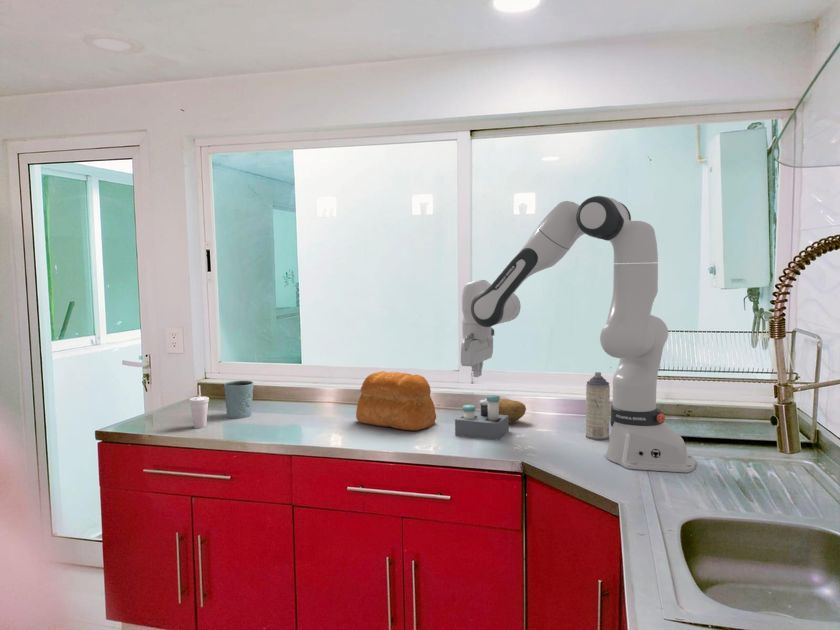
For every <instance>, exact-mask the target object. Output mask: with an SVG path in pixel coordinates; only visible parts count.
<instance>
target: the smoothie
mask: <svg viewBox="0 0 840 630" xmlns="http://www.w3.org/2000/svg"><path fill="white" fill-rule="evenodd" d="M201 395H202V393H201V385H198V396H193V397H191V398H189V400H188V403H189V404H190V405H189V406H190V410H191V415H192V421H193V426H194V428H195V429H203V428H205V427H207V420H208V411H209V407H208V406H209V402H210V398H209V397H208V396H201Z"/></svg>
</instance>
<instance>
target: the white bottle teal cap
mask: <svg viewBox="0 0 840 630" xmlns="http://www.w3.org/2000/svg"><path fill="white" fill-rule="evenodd" d="M500 397H501V396H499V395H495V394H494V395H493V394H492V395H490V394H489V395H487V396H486V399H487V401H488V420H490V421H497V420H499V401H500Z"/></svg>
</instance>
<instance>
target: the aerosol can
mask: <svg viewBox="0 0 840 630" xmlns="http://www.w3.org/2000/svg"><path fill="white" fill-rule="evenodd" d="M585 388H586V389H585V390H586V392H585V395H586V396H585V402H586V403H585V437H586V439H589V440H592V441H607V440H610V396H611V395H610V391H611V389H610V388H611V387H610V382H608V381H607V379H606V378H604V377H603V376H602V372H600V371H599V372H598V371H595V372H594V375H593V376H592V377H591V378H590V379H589V380H588V381H586V385H585Z"/></svg>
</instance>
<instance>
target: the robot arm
mask: <svg viewBox="0 0 840 630" xmlns="http://www.w3.org/2000/svg"><path fill="white" fill-rule="evenodd" d="M583 235H587V236H588V237H591V238H595V239H598V240H604V241H607V242H608V241H609V242H610V243H611V245H612V249H613V289H612V290H613V291H612V297H611V298H612V299H611V303H610V308H609V313H608V315H607V320H606V323H605V325H604V327H603V328H602V330H601V331H600V334H599V335H600V336H599V341H600V346H601V347H602V349H603V351H604V352H605V353H606V354H607V355H608V356H611V357H612V358H616V359H619V362H618V364H617V365H618V366H617V368H616V370H615V373H614V374H613V378H612V404H611V407H610V409H609V424H610V426H611V427H610V434H609V443H608V446H607V449H606V452H605V457H606V459H607V460H609V461H610V462H613V463H615V464H619V465H621V466H622V467H623V468H625V469H628V470H642V471H658V472H672V473H690V472H693V471H694V470H695V468H696V466H697V464H696V459H695V457H693V455H691V454H689V453H687V451H688V450H687V446H686V443H685V441H684V439H683V438H682V436H681V435H680V434H678V433H677V432H676V431H674V430H673V429H672V428H671V427H669V426H668V425H667V424H666V423H665V421H666V416H665V413H664V410H663V409H659V408H657V383H658V381H657V380H658V375H659V370H660V366H661V360H662V356H663V350H664V347H665V344H666V342H667V340H668V338H669V329H668V326H667V324H666V323H665V321H663V320H662V319H661V318H660V317H658V316H655V315H652V314H651V312H652V309H653V305H654V302H655V299H656V297H657V295H658V290H659V289H658V286H659V285H658V283H659V280H658V279H659V277H658V276H659V271H658V270H659V263H658V262H659V253H658V243H657V236H656V233H655V229H654V227H653V226H652V224H650V223H648V222H645V221H642V220H632V216H631V213H630V210H629V209H628V208H627V206H626V205H625V204H623V203H622V202H619V201H618V200H617V199H614V198H611V197H609V196H608V197H607V196H603V195H602V196H601V195H595V196H591V197H589V198H587V199H585V200H584V201H583V202H581V203H580V205H579V204H578V203H576V202H573V201H569V200H564V201H560V202H559V203H558V204H556V206H555V207H554V208H553V209H552V210H551V211H550V212H548V214H546V216H545V217H544V218H543V220H542V221H540V224H538V226H537V228H536V229H535V230H534V232H533V233H531V235H530V237H529V238H528V239H527V241H526V243H524V245H523V246H522V248H521V249H520V250H519V251H518V252H517V254H516V255H515V256H514V258H512V260H511V261H510V262H509V263H508V265H506V267H505V268H504V269H503V270H502V271H501V272H500V274H499V275H498V276H497V278H496V279H495V280H494V281H493V282H492V283H490V282H489V281H488V280H485V279H480V280H473V281H469V282H467V283H466V284H465V285H463V288H462V293H461V294H462V295H461V311H462V315H463V318H462V321H461V323H462V325H461V326H462V327H461V328H462V339H464V340H463V341H462V342H461V346H460V365H461V366H462V367H471V369H472V374H473V375H472V377H474V378H479V377H481V376H482V375H483V373H482V370H483V366H484V361H487V360H489V359H492V356H493V353H494V352H493V351H494V338H493V336H495V328H493V326H495V325H499V324H504V323H507V322H508V323H509V322H511V321H513V320H515V319H516V318H517V317H518V316H519V314H520V311H521V301H520V299H519V297H518V296H517V295H516V294H515V292H516V291H517V289H519V287H520V286H521V285H522V284H523V283H524V281H526V280H527V279H528V278H530V277H531V276H532V275H534V274H536V273H539V272H541V271H543V270H546V269H548V268H552V267H553V266H555V265H556V264H557V263H558V262H560V261H561V260H562V259H563V258H564V257H565V256H566V255H567V253H568V252H569V251H570V249H571V248H572V246H574V244H575V242H577V240H578V239H579V238H580V237H581V236H583Z"/></svg>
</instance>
